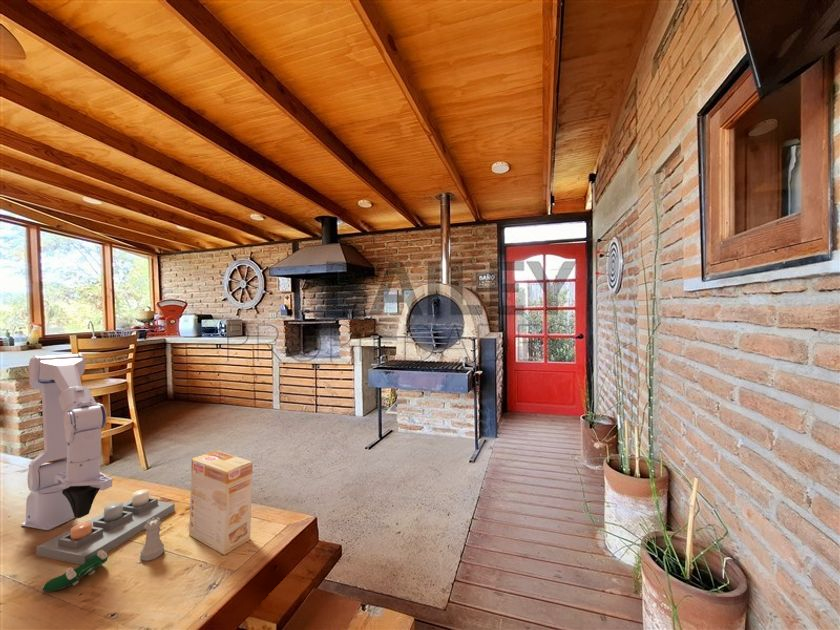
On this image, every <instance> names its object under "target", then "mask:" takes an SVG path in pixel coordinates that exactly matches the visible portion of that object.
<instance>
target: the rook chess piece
mask: <svg viewBox="0 0 840 630" xmlns="http://www.w3.org/2000/svg"><path fill="white" fill-rule="evenodd" d="M162 524H163V521H161V519H160V518H159V517H157V518H156V519H155V518H152V521H150V519H149V520H148V522H147V523H146V525H145V526H144V528H145V529H144V530H146V531H145V532H144V534H145V535H146V536H145V537H146V538H145V542H144V545H143V547H142V549H141V550H140V556H139V559H140V560H142V561H144V562H149V561H152V560H155V559H157V558H159V557H161V555H162V554H163V552H164V551H165V544H164V542H163V541H162V539H161V535H160V531H161V527H160V526H162Z"/></svg>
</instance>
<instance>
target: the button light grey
mask: <svg viewBox="0 0 840 630" xmlns="http://www.w3.org/2000/svg"><path fill="white" fill-rule="evenodd" d="M123 503H124V502H113V503H111V504H108V505H105V507H104V509H103V513H104V522H112V521H115V520H117V519H119V518H121V517H122V516H123Z"/></svg>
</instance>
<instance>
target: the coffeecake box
mask: <svg viewBox="0 0 840 630" xmlns="http://www.w3.org/2000/svg"><path fill="white" fill-rule="evenodd" d="M253 463H254V462H253V461H252V460H248V459H245V458H243V457H240V456H237V455H232V454H231V453H230V454H229V453H227V452H224V451H221V450H214V451H210V452H208V453H205V454H202V455H199V456H195V457H193V458H191V469H190V474H191V475H190V499H189V501H190V503H189V505H190V506H189V527H188V528H189V531H188V533H189V534H188V536H190V537H192V538H194V539H196V540H197V541H199V542H201V543H203V544H205V545H206V546H208V547H210V548H211V549H213V550H215V551H216V552H219V553H220V554H222V555H224V556H225V555H227V554H228V553H230V552H232V551H233V550H234V549H236V548H238V547H240V546H242V545H243V544H245V543H247V542H248V541H251V527H252V526H251V524H252V523H251V522H252V493H253V492H252V490H253Z"/></svg>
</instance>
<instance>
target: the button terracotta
mask: <svg viewBox="0 0 840 630" xmlns="http://www.w3.org/2000/svg"><path fill="white" fill-rule="evenodd" d="M70 530H71V539H72V540H77V541H78V540H80V539H82V538H84V537H86V536H88V535H89V534H91V533H92V522H86V521H83V522H81V523H78V524H76V525H74V526H72V527H71V528H70Z"/></svg>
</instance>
